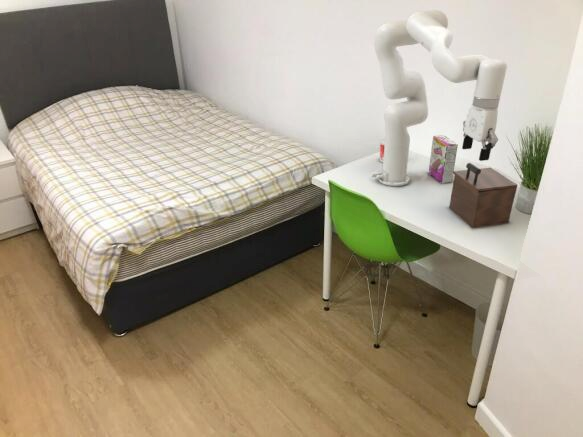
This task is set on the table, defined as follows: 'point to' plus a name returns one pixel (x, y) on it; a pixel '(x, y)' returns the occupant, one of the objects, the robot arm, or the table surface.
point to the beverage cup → (382, 149)
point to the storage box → (481, 204)
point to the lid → (484, 178)
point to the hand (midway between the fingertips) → (474, 154)
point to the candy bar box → (442, 158)
